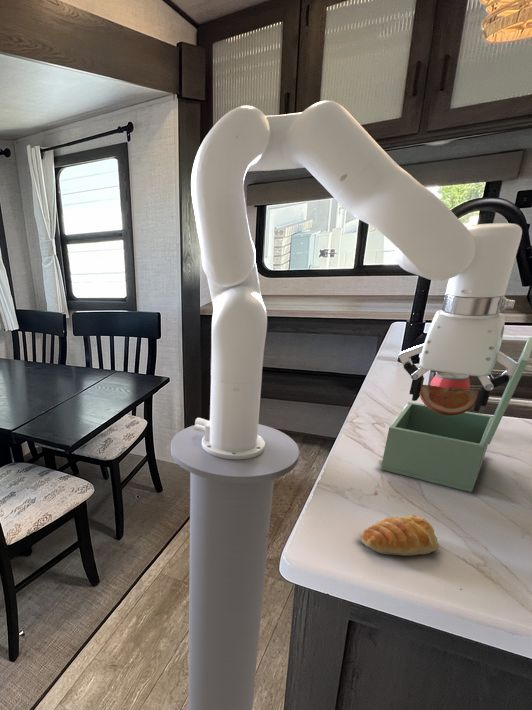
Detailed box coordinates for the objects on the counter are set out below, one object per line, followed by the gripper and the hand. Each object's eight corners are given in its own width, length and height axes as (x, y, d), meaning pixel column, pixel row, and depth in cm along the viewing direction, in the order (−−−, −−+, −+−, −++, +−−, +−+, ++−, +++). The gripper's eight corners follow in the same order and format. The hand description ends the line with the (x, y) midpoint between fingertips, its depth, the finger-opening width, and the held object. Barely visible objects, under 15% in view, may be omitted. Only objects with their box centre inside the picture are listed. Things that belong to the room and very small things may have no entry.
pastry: (380, 564, 66) (385, 542, 64) (349, 535, 72) (352, 514, 71) (441, 553, 67) (447, 531, 65) (405, 526, 73) (410, 505, 71)
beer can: (420, 429, 101) (432, 377, 96) (421, 418, 106) (433, 367, 101) (459, 435, 97) (473, 380, 93) (458, 423, 102) (471, 371, 97)
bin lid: (521, 359, 69) (575, 369, 65) (529, 337, 78) (576, 344, 75) (483, 443, 76) (529, 456, 72) (494, 413, 85) (536, 423, 81)
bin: (380, 469, 88) (389, 427, 85) (400, 440, 97) (408, 401, 94) (471, 492, 79) (485, 446, 76) (483, 458, 88) (496, 416, 85)
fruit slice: (413, 414, 84) (420, 389, 82) (414, 401, 89) (421, 377, 87) (472, 423, 80) (481, 396, 77) (469, 409, 85) (478, 383, 82)
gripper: (545, 304, 73) (511, 407, 80) (413, 298, 84) (394, 388, 91) (542, 314, 68) (506, 422, 75) (403, 306, 80) (384, 400, 87)
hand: (445, 403), depth 83 cm, fingers closed on fruit slice, 8 cm apart
